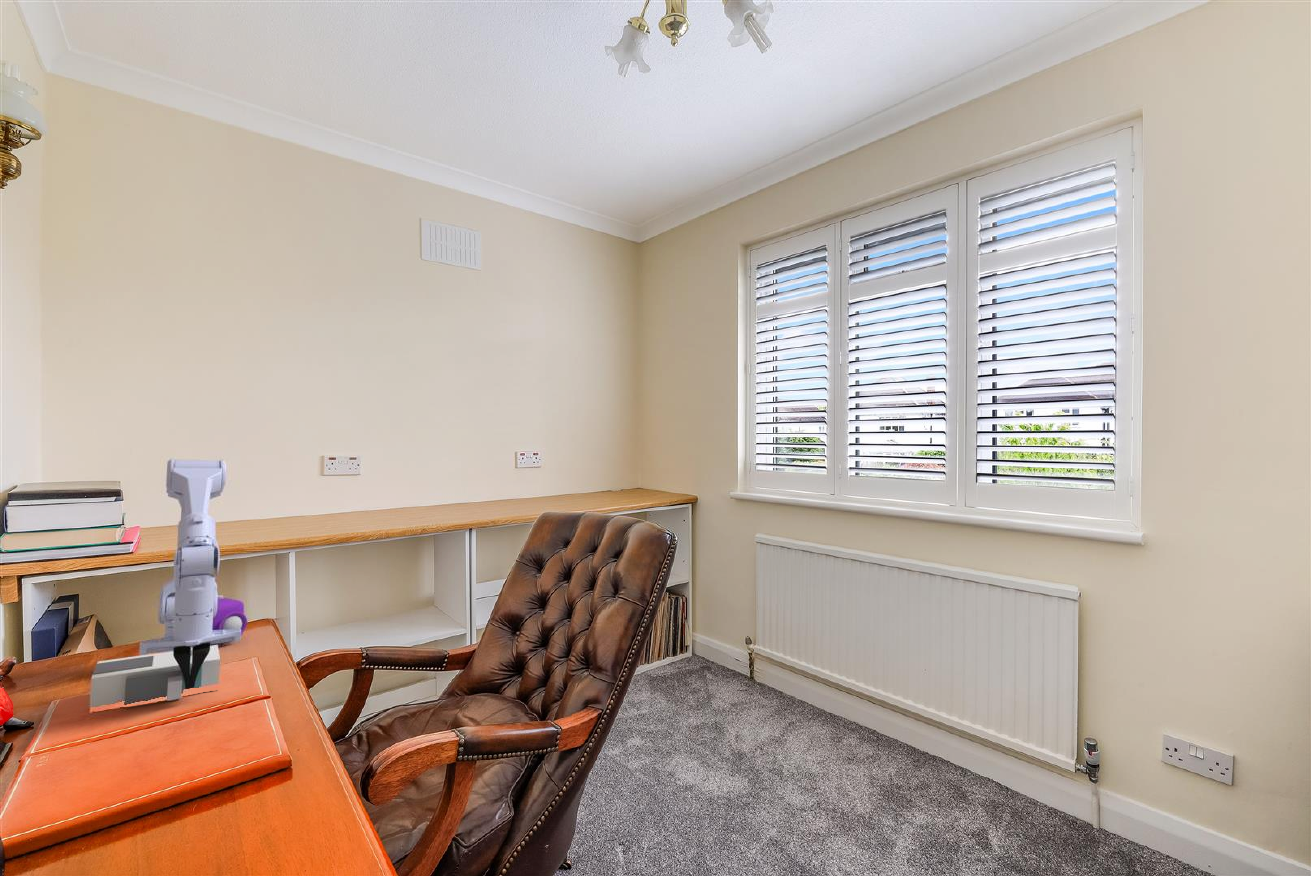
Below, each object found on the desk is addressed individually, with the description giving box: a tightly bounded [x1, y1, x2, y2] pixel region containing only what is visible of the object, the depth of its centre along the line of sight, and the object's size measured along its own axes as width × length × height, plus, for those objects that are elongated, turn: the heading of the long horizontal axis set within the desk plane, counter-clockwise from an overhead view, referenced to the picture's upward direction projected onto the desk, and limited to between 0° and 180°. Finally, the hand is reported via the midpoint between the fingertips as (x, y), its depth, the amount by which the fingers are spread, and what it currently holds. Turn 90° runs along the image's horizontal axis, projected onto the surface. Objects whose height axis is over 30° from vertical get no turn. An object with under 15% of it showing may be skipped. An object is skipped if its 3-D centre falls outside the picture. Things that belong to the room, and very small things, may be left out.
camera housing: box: [89, 644, 221, 708], centre depth 112 cm, size 10×18×7 cm, turn 129°
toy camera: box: [210, 594, 248, 646], centre depth 141 cm, size 11×14×10 cm
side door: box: [124, 668, 184, 705], centre depth 105 cm, size 4×8×5 cm, turn 129°
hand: (189, 686), depth 108 cm, fingers closed
